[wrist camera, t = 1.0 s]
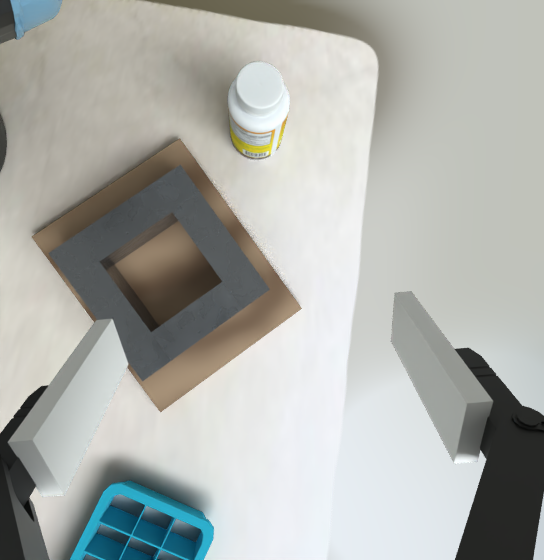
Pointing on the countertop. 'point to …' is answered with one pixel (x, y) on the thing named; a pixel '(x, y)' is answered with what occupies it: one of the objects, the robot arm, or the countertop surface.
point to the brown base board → (179, 275)
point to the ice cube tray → (142, 527)
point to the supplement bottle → (258, 110)
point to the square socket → (135, 233)
